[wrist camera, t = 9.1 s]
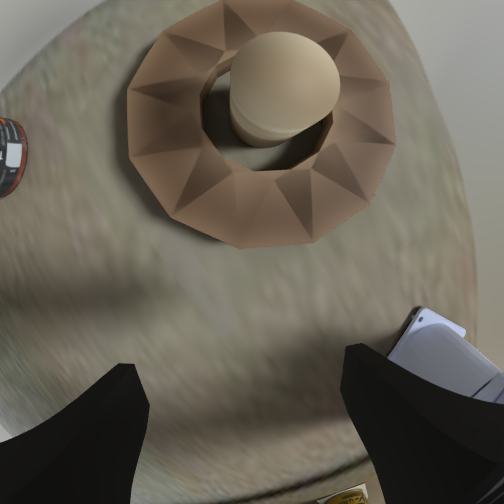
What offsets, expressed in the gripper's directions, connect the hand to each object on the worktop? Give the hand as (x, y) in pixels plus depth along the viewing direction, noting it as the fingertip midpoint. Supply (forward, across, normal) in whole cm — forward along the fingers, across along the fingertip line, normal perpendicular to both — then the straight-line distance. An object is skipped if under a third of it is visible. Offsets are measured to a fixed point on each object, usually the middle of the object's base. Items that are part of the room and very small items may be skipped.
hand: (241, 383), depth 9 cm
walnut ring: (+9, -2, -10) cm, 14 cm away
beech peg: (+9, -2, -10) cm, 14 cm away
